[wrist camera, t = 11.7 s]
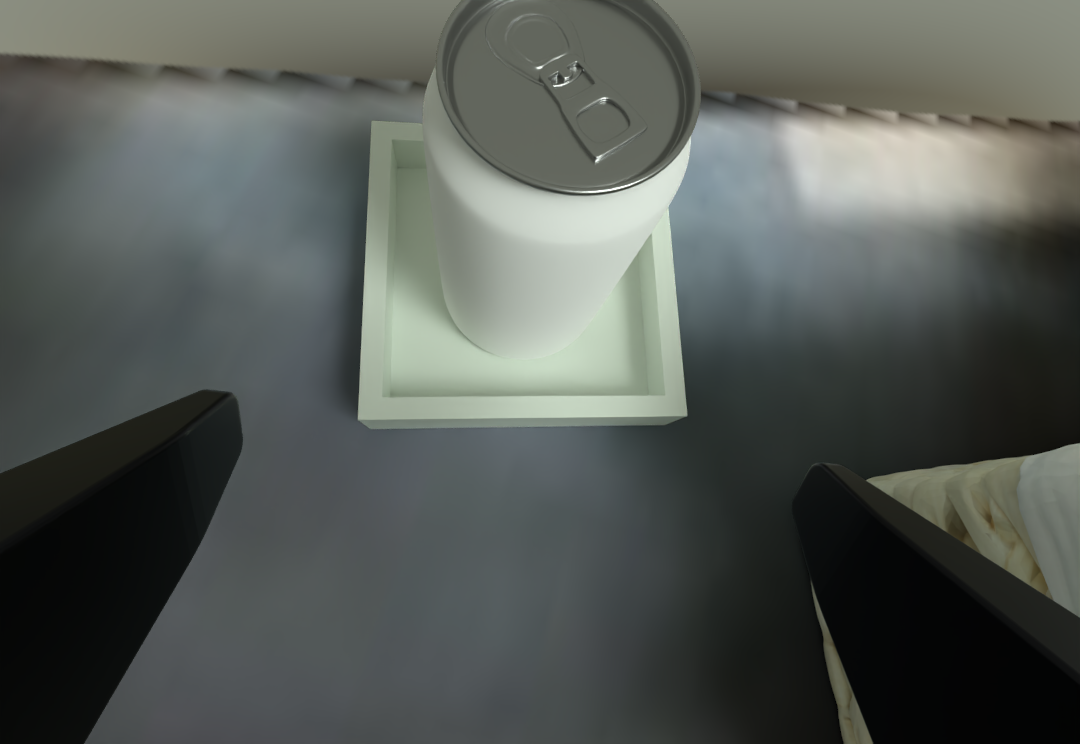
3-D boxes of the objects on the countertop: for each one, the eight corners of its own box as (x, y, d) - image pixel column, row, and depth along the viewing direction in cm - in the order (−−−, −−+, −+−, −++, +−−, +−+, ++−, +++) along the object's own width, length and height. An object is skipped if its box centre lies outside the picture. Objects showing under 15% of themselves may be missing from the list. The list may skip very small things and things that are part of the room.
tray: (664, 424, 23) (687, 416, 21) (370, 429, 21) (357, 419, 19) (643, 171, 26) (661, 137, 23) (381, 158, 24) (371, 120, 22)
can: (536, 192, 24) (597, -95, 12) (626, 307, 23) (780, 117, 12) (411, 268, 23) (349, 23, 11) (503, 394, 22) (542, 273, 10)
